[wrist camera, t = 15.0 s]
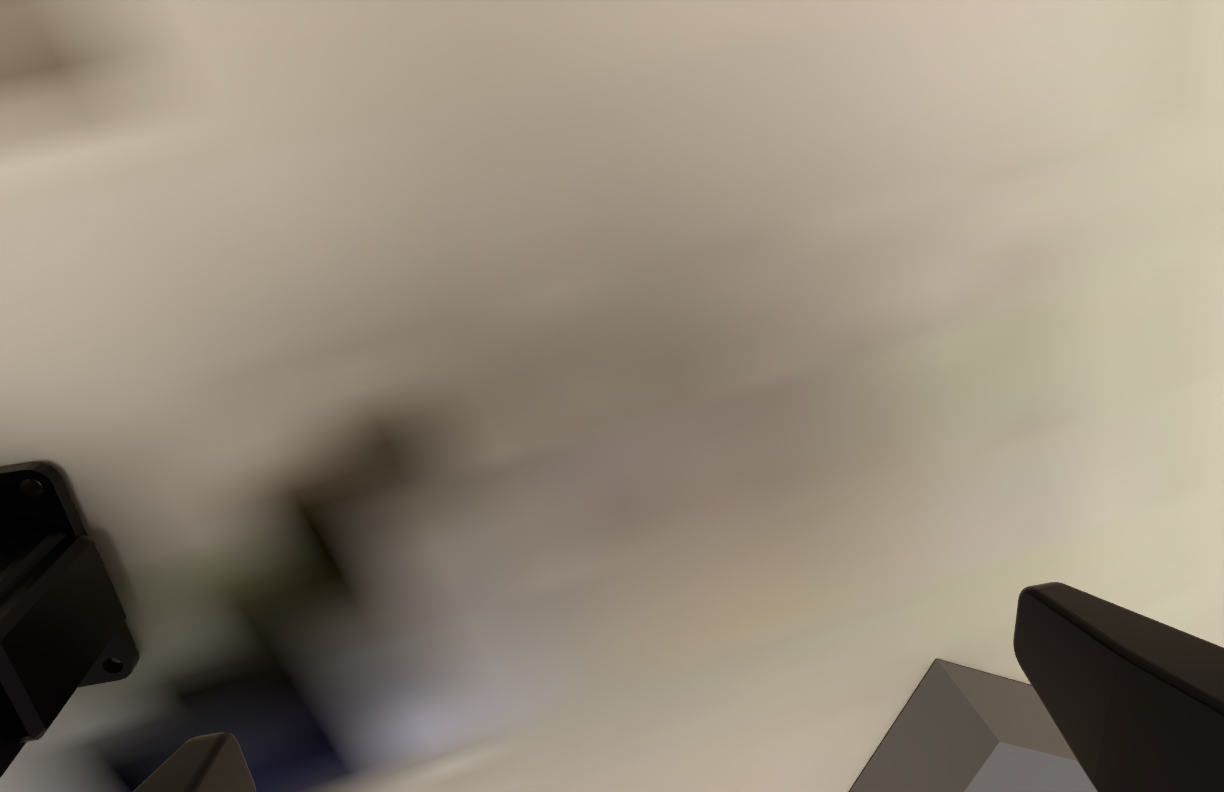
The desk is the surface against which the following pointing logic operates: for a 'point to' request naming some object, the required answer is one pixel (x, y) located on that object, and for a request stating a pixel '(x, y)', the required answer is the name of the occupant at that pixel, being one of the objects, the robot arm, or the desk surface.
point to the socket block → (973, 740)
